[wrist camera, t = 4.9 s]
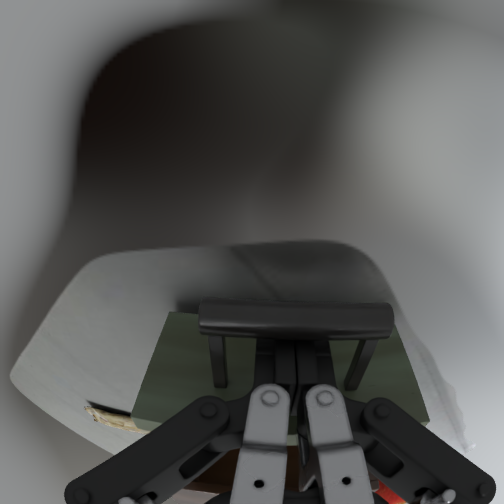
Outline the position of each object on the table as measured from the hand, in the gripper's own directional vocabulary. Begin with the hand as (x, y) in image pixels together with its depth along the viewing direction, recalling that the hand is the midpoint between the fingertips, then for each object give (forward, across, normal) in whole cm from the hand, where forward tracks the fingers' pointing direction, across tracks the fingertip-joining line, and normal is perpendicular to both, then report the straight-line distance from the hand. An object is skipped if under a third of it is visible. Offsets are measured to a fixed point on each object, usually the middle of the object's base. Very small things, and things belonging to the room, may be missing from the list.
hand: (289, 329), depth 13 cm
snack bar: (+4, +15, +20) cm, 25 cm away
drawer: (+3, 0, +6) cm, 7 cm away
